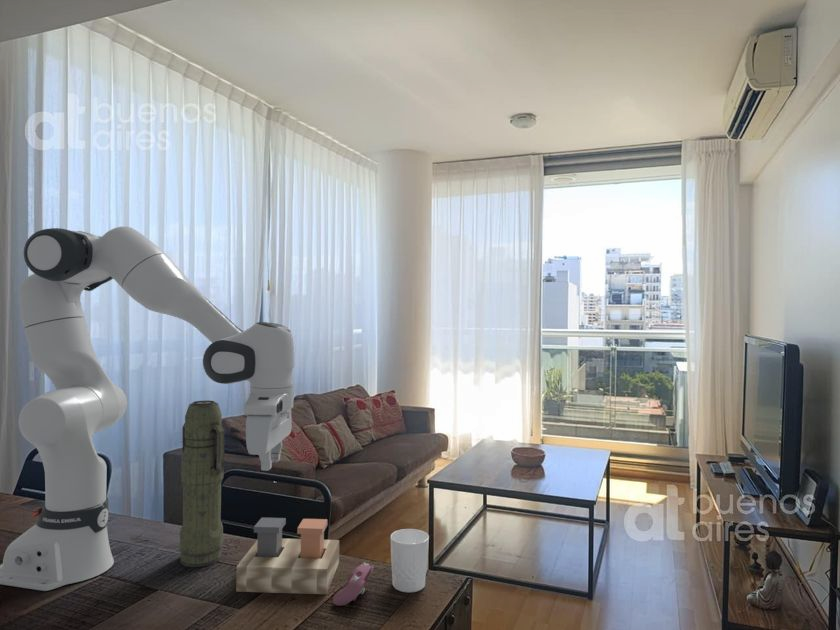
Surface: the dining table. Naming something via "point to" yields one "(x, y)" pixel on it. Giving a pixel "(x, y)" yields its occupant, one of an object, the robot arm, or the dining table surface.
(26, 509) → the dining table surface
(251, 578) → the socket block
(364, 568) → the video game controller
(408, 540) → the white cup
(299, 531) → the terracotta plug
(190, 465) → the thermos
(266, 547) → the charcoal plug
